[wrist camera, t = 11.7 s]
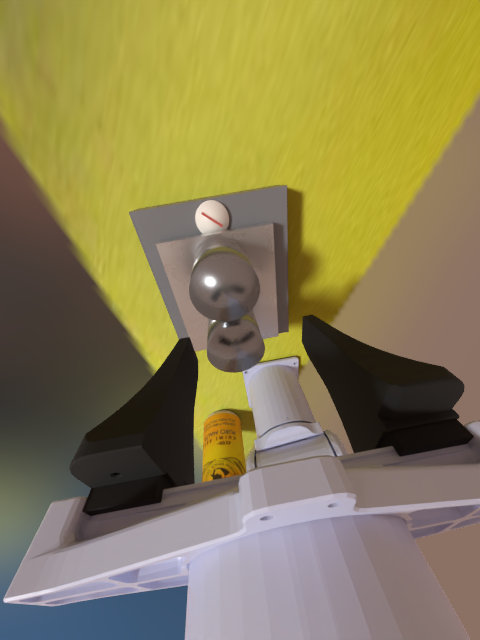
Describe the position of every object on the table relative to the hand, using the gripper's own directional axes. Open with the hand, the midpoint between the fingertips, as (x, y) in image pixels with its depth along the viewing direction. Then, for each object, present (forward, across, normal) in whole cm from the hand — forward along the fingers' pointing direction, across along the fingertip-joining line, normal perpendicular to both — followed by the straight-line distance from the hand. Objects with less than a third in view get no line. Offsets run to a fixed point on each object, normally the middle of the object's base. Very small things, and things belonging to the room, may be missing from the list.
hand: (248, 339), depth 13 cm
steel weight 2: (+7, +1, +2) cm, 7 cm away
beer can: (+11, +6, +25) cm, 28 cm away
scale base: (+10, +1, -1) cm, 10 cm away
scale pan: (+7, +1, 0) cm, 7 cm away
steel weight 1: (+6, +1, -3) cm, 7 cm away
